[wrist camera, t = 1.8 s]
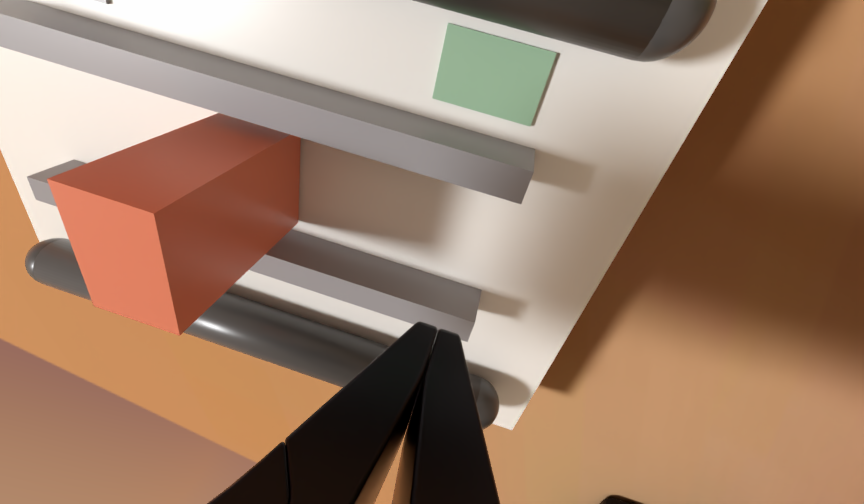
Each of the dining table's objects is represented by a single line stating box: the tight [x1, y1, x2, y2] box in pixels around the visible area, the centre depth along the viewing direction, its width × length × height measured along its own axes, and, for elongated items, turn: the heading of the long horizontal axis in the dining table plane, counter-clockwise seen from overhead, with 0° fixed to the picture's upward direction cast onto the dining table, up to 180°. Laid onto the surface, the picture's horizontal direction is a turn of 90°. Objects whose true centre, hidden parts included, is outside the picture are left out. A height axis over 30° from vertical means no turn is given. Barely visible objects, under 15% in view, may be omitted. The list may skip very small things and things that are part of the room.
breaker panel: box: [0, 0, 768, 430], centre depth 12 cm, size 20×16×4 cm
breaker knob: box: [47, 113, 301, 336], centre depth 10 cm, size 2×3×5 cm, turn 167°
